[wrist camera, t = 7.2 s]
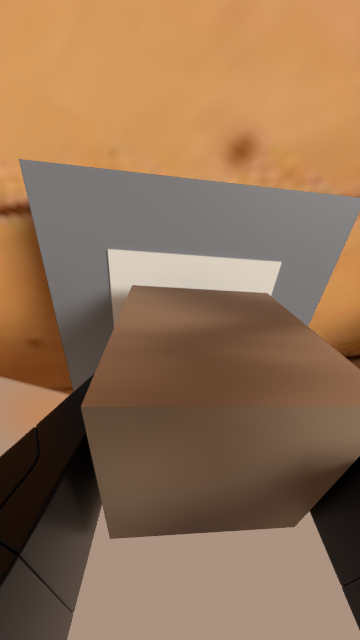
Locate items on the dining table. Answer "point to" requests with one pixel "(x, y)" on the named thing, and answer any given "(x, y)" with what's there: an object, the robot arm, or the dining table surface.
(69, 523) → the robot arm
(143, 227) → the plinth
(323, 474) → the walnut cube
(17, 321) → the dining table surface
